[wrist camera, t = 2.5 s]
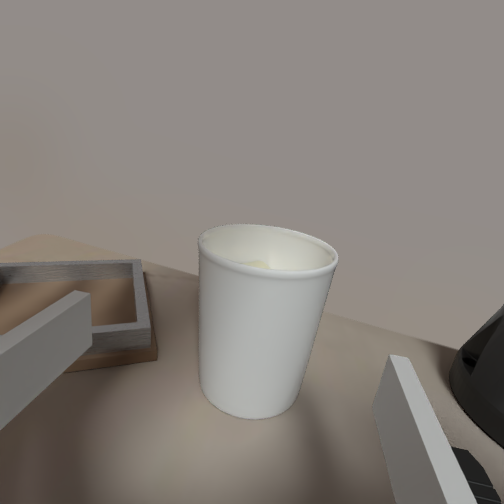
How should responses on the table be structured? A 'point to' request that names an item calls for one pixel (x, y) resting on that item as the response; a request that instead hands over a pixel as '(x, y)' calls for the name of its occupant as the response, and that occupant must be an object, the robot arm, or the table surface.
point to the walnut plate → (102, 313)
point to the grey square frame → (105, 335)
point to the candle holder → (259, 314)
